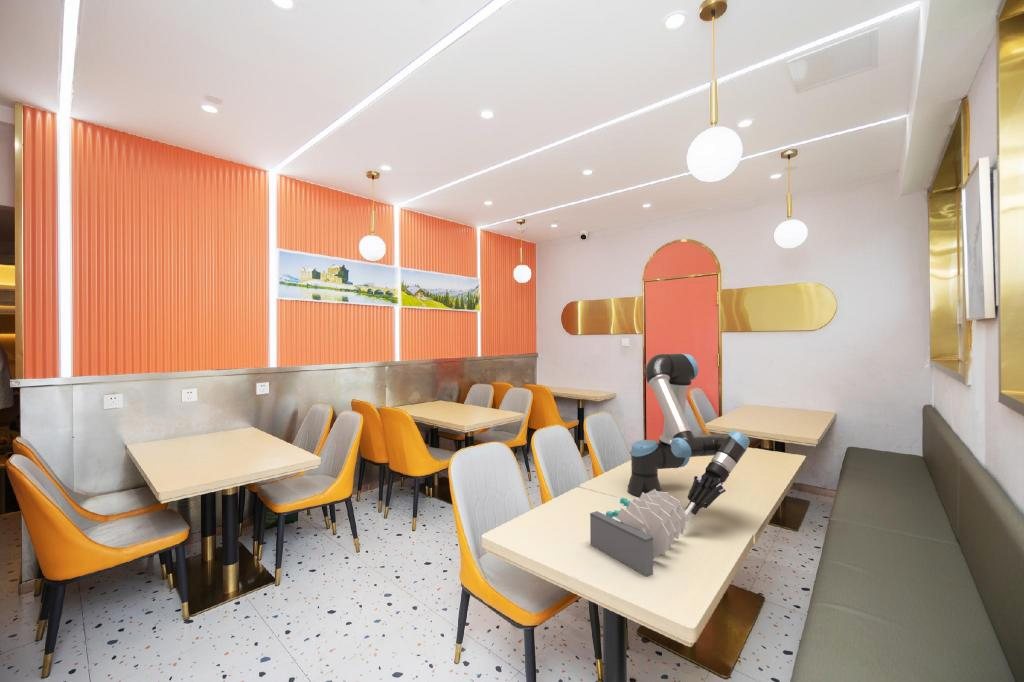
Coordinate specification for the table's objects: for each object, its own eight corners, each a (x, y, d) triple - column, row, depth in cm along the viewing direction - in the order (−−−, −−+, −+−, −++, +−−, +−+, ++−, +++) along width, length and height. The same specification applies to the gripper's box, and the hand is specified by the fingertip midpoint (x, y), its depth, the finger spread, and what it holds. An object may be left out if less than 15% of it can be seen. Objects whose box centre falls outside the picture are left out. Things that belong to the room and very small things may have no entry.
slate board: (590, 544, 147) (590, 513, 147) (597, 542, 149) (597, 511, 149) (645, 576, 127) (645, 539, 127) (653, 573, 128) (653, 537, 129)
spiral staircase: (676, 549, 152) (652, 576, 132) (632, 516, 162) (604, 537, 142) (700, 506, 148) (679, 527, 128) (654, 476, 158) (628, 491, 138)
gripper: (740, 479, 155) (705, 533, 148) (711, 469, 167) (677, 519, 160) (729, 465, 153) (693, 520, 146) (701, 457, 165) (666, 506, 159)
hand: (685, 519), depth 153 cm, fingers closed
